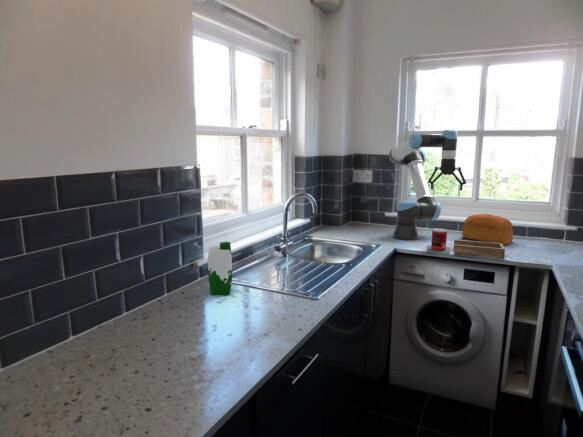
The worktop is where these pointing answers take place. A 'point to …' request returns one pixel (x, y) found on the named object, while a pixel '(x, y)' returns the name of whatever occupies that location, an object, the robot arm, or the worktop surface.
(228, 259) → the milk carton
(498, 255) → the wooden tray
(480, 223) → the bread
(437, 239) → the canned food
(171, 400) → the worktop surface
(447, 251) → the mat
